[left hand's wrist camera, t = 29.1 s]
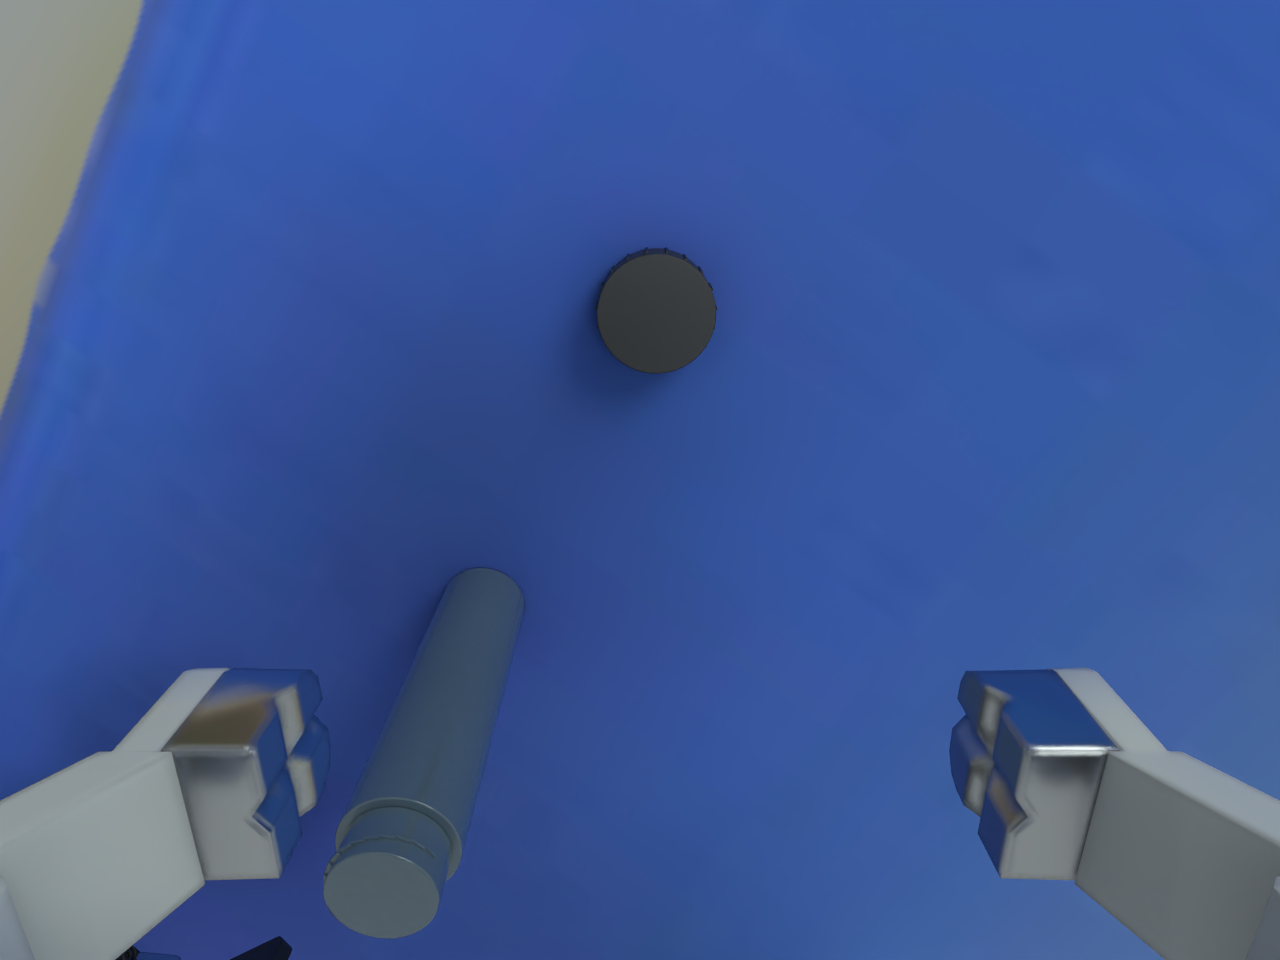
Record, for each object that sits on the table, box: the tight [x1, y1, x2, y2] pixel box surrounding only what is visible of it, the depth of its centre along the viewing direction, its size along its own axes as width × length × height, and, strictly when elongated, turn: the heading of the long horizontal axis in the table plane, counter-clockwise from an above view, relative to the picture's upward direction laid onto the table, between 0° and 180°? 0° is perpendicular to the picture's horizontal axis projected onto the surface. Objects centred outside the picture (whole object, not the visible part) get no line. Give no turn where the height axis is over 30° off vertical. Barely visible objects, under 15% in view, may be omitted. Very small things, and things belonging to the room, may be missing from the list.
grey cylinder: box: [323, 568, 525, 939], centre depth 35 cm, size 4×4×18 cm
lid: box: [596, 248, 717, 373], centre depth 37 cm, size 5×5×2 cm
